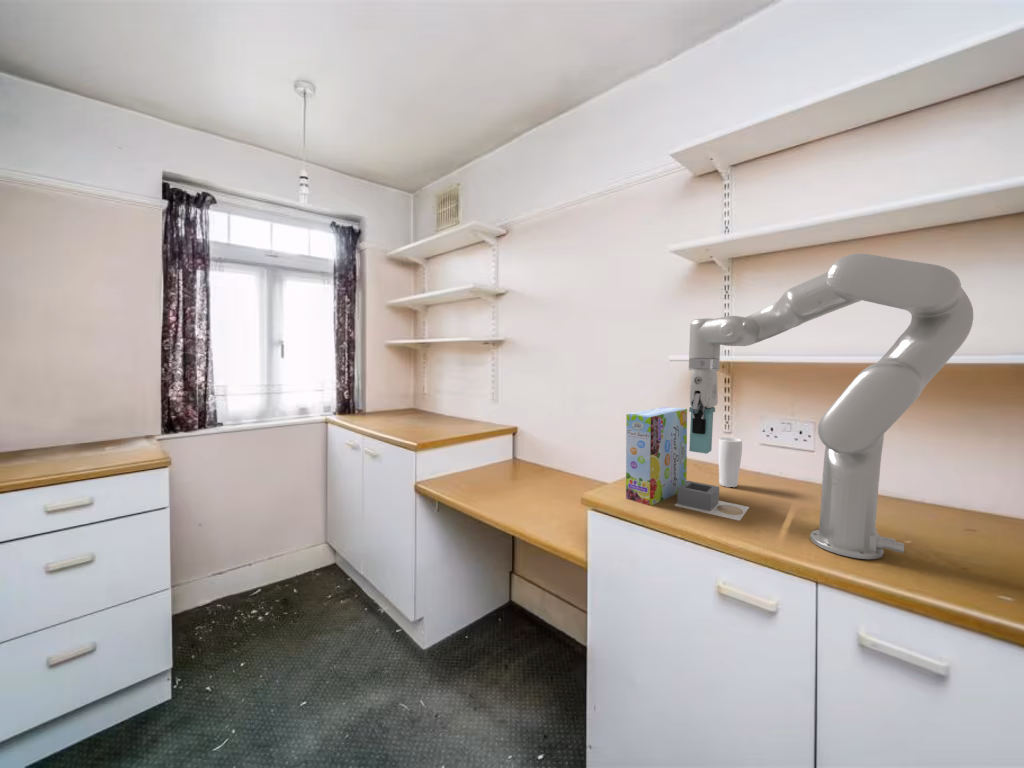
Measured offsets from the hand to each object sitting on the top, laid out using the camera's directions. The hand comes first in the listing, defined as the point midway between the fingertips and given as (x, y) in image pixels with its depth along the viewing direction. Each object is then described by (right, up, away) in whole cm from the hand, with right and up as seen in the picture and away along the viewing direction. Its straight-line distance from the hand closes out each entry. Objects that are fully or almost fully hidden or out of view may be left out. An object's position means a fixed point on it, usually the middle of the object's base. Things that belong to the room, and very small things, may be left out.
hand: (701, 431), depth 114 cm
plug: (0, -5, 0) cm, 5 cm away
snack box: (-9, -21, +10) cm, 24 cm away
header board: (+3, -21, 0) cm, 21 cm away
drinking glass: (+18, -20, +21) cm, 34 cm away
